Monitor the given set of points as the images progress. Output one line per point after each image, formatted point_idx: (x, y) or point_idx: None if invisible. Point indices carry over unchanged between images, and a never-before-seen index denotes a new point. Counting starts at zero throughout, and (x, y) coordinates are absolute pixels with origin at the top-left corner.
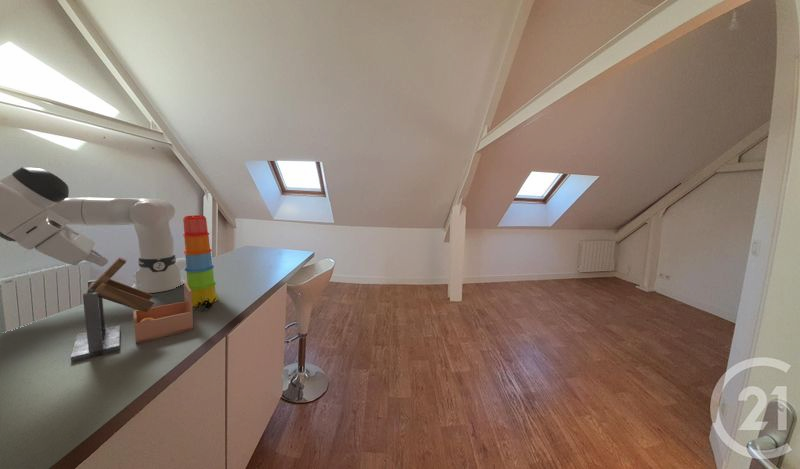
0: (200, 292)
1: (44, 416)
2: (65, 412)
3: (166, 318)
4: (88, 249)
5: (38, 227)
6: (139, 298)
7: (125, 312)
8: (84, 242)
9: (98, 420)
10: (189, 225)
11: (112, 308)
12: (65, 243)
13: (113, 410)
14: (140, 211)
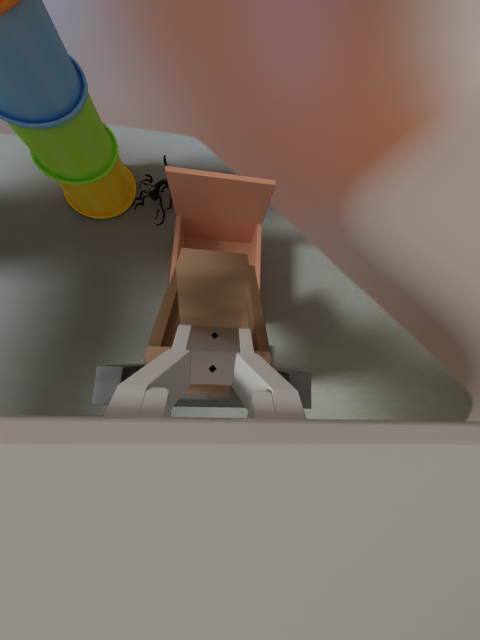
0: (116, 171)
1: (395, 418)
2: (399, 400)
3: (259, 265)
4: (423, 442)
5: None
6: (256, 287)
7: (47, 326)
8: (148, 539)
9: (435, 371)
10: None
11: None
12: None
13: (425, 358)
14: None
